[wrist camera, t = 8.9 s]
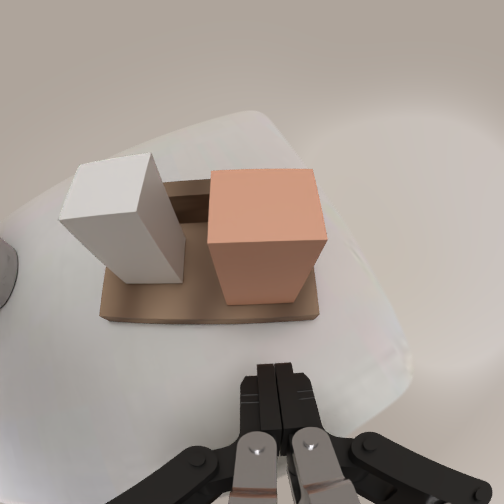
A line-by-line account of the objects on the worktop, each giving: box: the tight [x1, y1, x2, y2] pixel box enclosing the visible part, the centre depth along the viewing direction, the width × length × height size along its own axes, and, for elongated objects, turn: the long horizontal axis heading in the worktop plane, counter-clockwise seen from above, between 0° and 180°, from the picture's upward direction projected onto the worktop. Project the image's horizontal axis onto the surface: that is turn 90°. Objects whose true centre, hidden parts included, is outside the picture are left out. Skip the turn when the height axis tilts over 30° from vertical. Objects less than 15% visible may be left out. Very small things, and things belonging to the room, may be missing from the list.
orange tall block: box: [207, 169, 328, 305], centre depth 16 cm, size 5×4×10 cm
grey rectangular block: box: [58, 152, 186, 284], centre depth 17 cm, size 5×4×10 cm
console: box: [99, 179, 319, 324], centre depth 21 cm, size 18×10×6 cm, turn 92°
